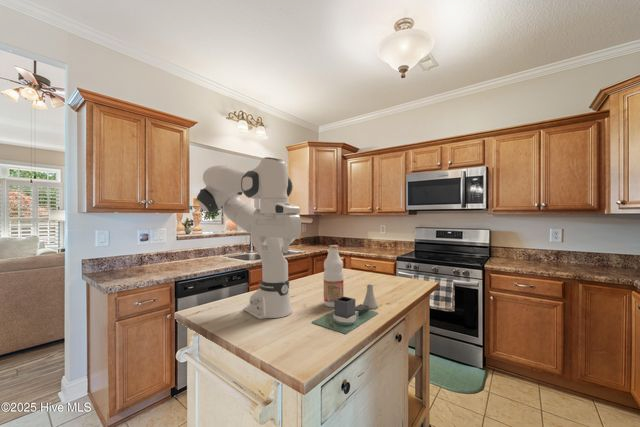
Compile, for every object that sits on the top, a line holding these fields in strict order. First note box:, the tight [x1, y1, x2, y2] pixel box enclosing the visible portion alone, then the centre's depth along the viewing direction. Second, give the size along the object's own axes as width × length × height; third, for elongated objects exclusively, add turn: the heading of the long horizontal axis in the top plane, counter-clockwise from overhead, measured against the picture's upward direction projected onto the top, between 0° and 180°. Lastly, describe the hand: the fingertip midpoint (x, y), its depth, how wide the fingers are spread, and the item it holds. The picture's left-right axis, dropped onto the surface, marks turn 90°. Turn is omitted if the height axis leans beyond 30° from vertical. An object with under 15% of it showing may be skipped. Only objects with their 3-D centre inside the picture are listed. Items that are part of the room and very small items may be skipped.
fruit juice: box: [323, 244, 344, 308], centre depth 129 cm, size 9×9×28 cm
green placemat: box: [311, 303, 379, 335], centre depth 112 cm, size 16×25×7 cm, turn 141°
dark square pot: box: [333, 295, 356, 319], centre depth 108 cm, size 6×6×6 cm
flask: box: [362, 283, 379, 310], centre depth 126 cm, size 7×7×10 cm
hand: (274, 251), depth 87 cm, fingers open, 8 cm apart
